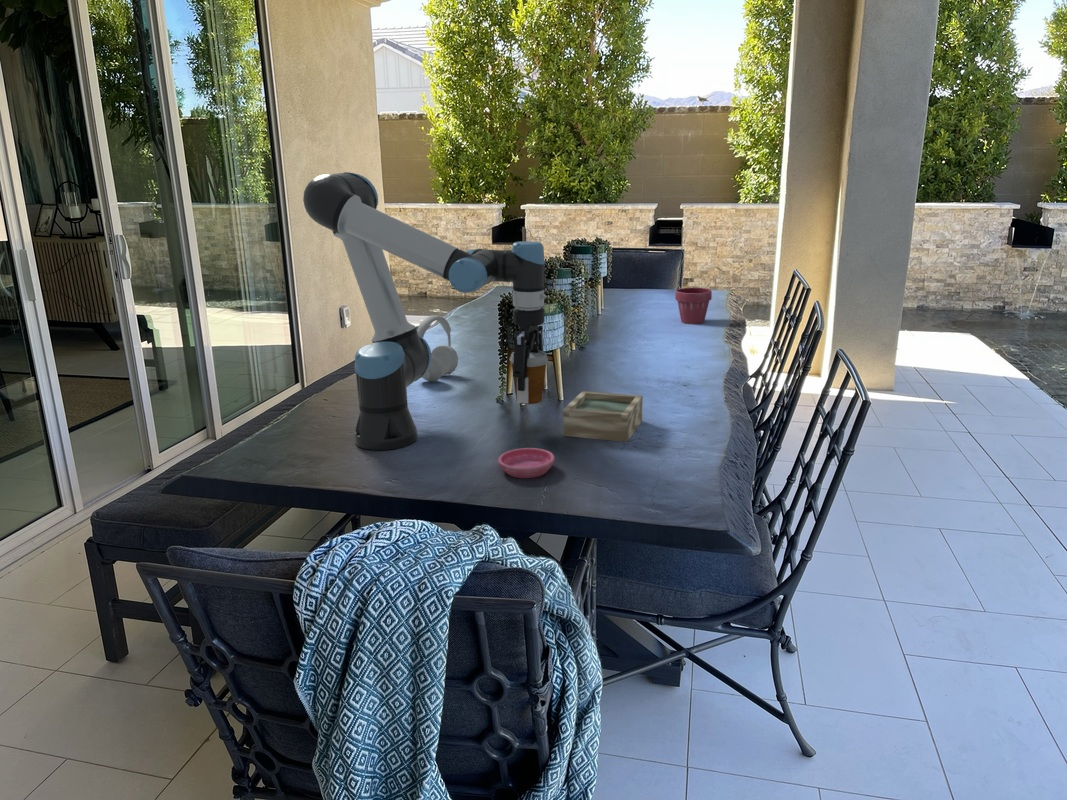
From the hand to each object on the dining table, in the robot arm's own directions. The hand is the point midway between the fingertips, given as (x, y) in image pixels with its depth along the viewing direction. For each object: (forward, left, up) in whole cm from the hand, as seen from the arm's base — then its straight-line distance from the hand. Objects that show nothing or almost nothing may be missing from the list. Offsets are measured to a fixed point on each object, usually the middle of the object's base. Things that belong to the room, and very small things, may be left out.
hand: (528, 397), depth 199 cm
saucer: (-25, -9, -9) cm, 28 cm away
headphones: (+36, +44, -9) cm, 58 cm away
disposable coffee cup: (0, 0, -1) cm, 1 cm away
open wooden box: (+6, -18, -8) cm, 20 cm away
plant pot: (+139, -18, -9) cm, 140 cm away
